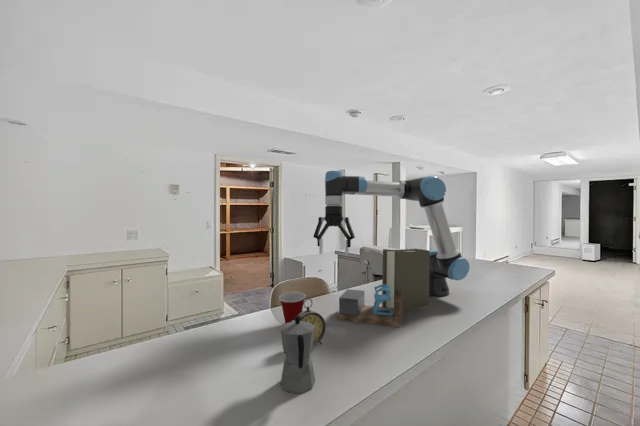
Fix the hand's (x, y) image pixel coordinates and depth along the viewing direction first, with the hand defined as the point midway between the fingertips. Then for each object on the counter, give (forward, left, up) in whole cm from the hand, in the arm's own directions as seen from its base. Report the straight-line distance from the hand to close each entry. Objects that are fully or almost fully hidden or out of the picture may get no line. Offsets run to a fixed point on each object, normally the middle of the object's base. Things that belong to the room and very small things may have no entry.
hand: (333, 254), depth 134 cm
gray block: (-8, 0, -24) cm, 26 cm away
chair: (-21, 0, -25) cm, 32 cm away
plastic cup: (+12, +19, -27) cm, 35 cm away
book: (-30, -18, -27) cm, 45 cm away
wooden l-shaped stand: (-16, 0, -26) cm, 31 cm away
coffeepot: (-7, +56, -27) cm, 63 cm away
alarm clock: (-1, +34, -27) cm, 44 cm away
